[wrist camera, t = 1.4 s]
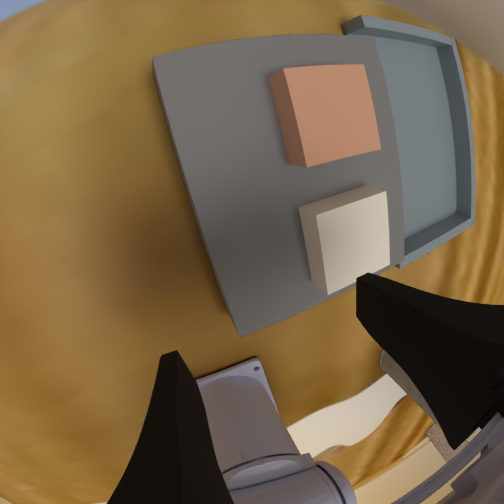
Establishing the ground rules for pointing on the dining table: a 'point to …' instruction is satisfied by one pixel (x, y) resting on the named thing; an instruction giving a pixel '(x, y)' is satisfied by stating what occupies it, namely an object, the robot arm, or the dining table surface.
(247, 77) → the plate
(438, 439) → the cup
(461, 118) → the tray
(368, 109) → the terracotta tile
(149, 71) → the dining table surface
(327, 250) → the cream tile
